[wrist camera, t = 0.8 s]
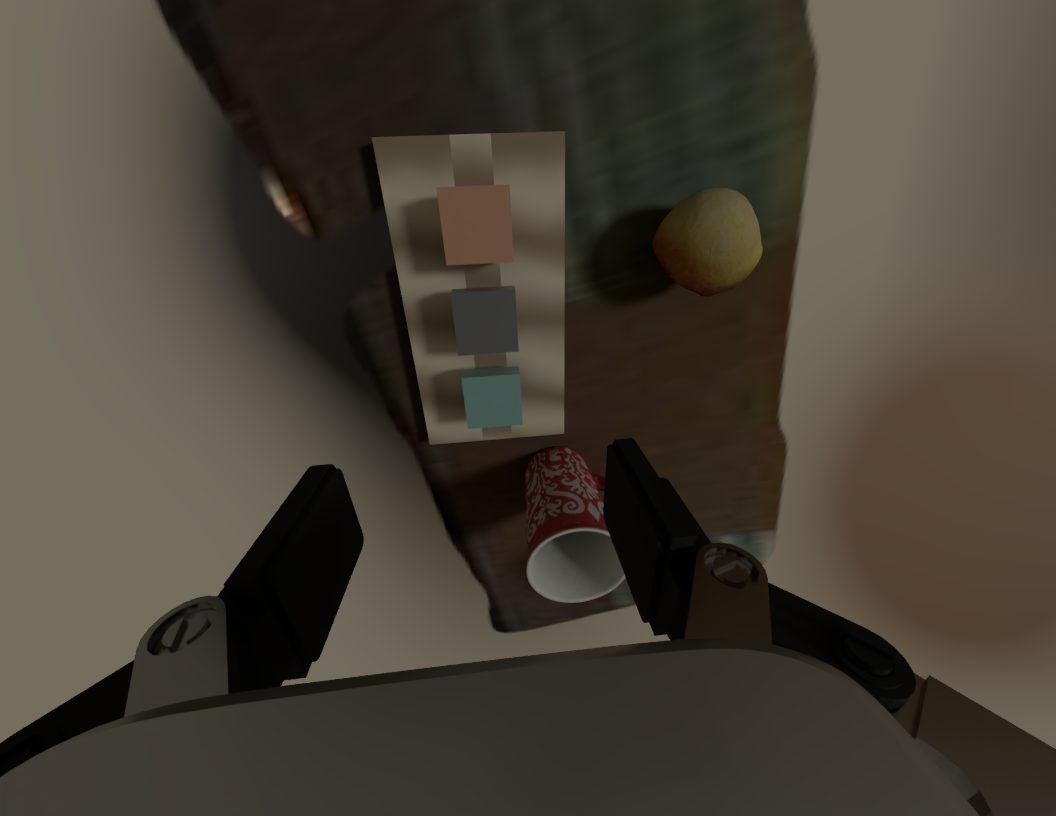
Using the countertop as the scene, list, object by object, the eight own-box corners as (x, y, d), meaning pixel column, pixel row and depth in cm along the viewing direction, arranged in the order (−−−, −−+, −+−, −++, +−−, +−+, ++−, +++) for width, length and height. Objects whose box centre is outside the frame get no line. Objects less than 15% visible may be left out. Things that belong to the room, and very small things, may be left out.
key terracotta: (441, 190, 28) (436, 187, 25) (507, 187, 28) (509, 184, 26) (450, 261, 30) (446, 265, 28) (511, 258, 31) (513, 262, 28)
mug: (521, 507, 45) (532, 611, 33) (511, 445, 41) (519, 538, 29) (623, 492, 46) (670, 589, 34) (623, 429, 41) (677, 513, 29)
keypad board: (377, 141, 28) (371, 137, 27) (561, 135, 29) (565, 131, 27) (431, 437, 40) (429, 444, 38) (561, 426, 41) (564, 433, 39)
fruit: (721, 281, 35) (780, 296, 28) (635, 289, 35) (673, 306, 28) (735, 188, 32) (807, 178, 25) (640, 196, 31) (685, 188, 24)
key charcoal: (453, 286, 31) (450, 293, 28) (513, 283, 31) (515, 289, 29) (460, 344, 33) (458, 355, 31) (516, 341, 34) (518, 351, 31)
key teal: (463, 365, 34) (461, 378, 32) (517, 361, 35) (519, 374, 32) (469, 413, 37) (467, 429, 34) (520, 409, 37) (522, 424, 34)
